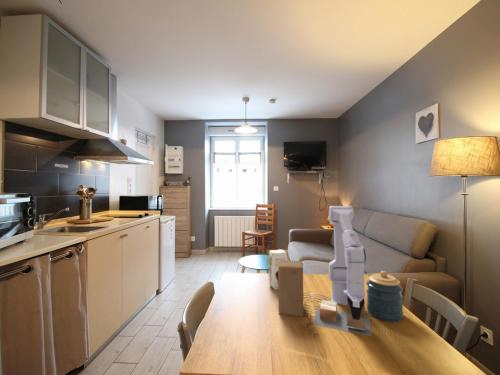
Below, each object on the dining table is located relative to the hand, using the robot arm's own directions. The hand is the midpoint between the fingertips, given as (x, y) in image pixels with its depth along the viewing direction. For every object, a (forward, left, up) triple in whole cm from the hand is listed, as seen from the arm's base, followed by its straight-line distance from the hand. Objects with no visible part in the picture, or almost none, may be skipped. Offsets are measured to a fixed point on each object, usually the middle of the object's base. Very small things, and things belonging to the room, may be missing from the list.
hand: (355, 318), depth 85 cm
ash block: (-4, -10, -3) cm, 11 cm away
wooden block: (-7, -25, -5) cm, 26 cm away
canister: (-18, +11, -5) cm, 22 cm away
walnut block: (-2, 0, -4) cm, 5 cm away
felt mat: (-6, -5, -5) cm, 9 cm away
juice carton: (-29, -37, -5) cm, 47 cm away
